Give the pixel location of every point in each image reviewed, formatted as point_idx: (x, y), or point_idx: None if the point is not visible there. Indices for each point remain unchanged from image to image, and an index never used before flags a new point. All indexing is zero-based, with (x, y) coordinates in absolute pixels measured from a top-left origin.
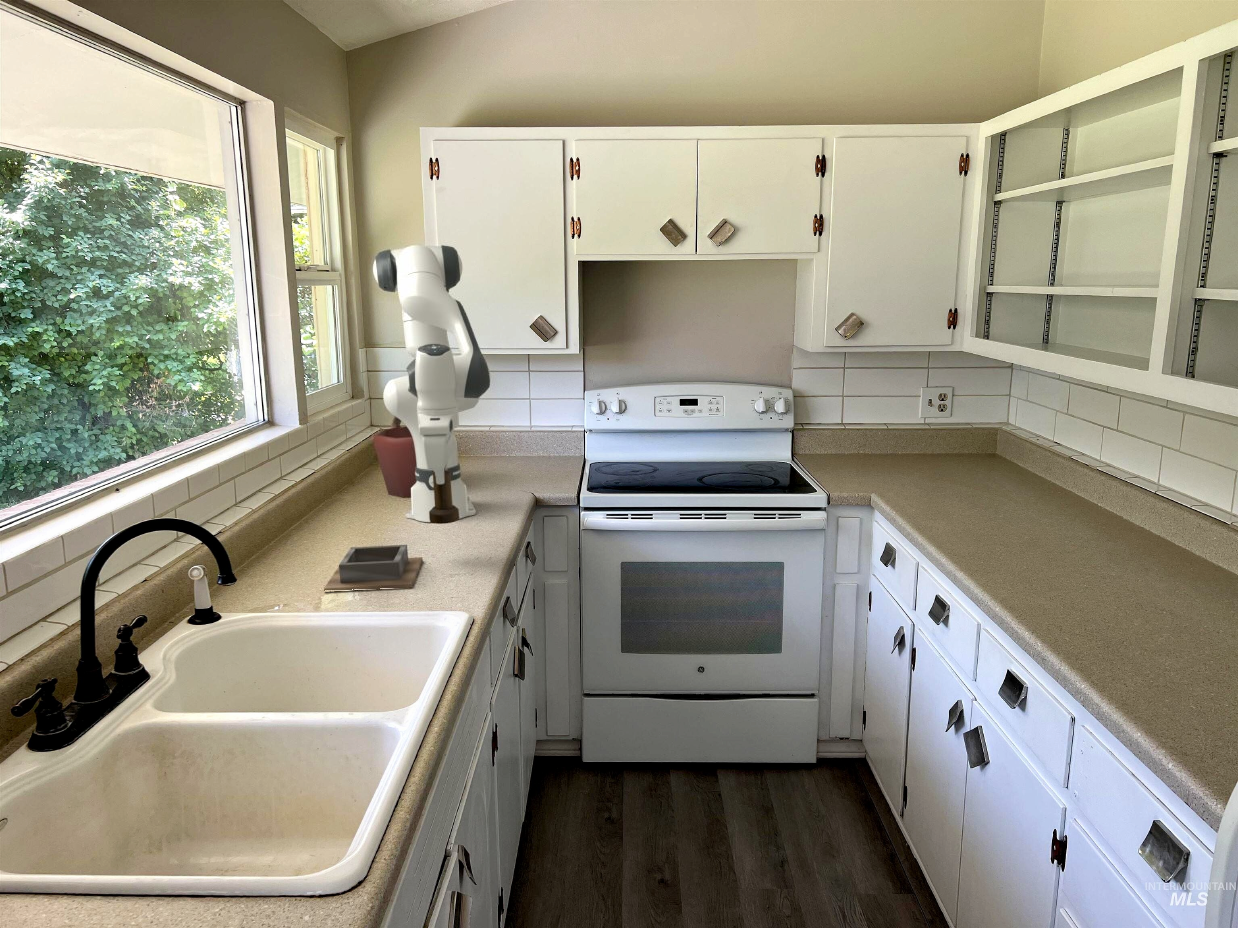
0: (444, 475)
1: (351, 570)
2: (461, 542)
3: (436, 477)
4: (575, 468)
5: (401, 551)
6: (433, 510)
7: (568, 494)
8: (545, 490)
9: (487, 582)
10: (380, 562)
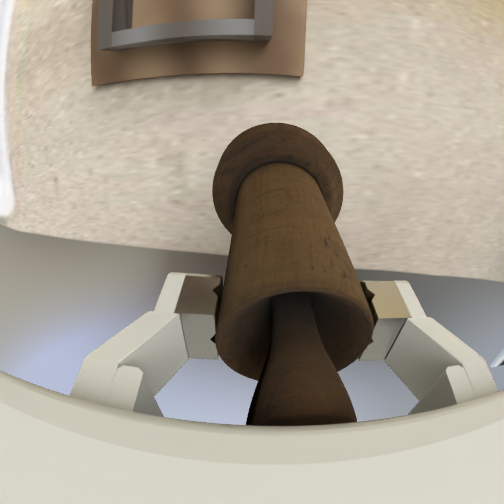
0: (200, 356)
1: None
2: (423, 175)
3: (158, 307)
4: None
5: (196, 29)
6: (245, 156)
7: None
8: None
9: (127, 234)
10: (103, 4)
